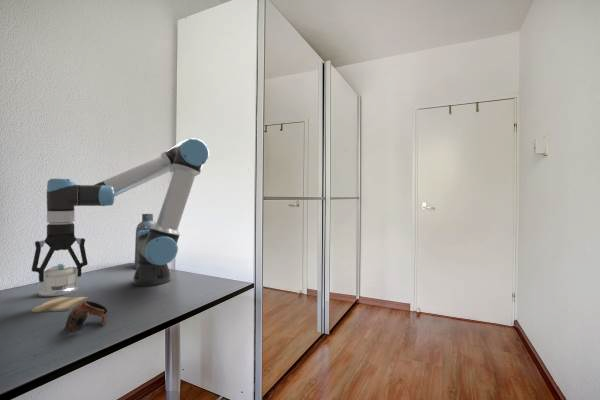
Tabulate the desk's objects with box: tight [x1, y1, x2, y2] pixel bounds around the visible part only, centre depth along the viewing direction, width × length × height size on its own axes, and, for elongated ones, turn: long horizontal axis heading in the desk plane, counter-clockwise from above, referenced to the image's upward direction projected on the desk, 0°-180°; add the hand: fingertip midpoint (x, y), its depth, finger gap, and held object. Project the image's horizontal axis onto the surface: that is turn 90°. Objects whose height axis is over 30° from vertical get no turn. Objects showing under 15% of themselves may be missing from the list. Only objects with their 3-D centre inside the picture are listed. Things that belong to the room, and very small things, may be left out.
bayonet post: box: [38, 264, 78, 298], centre depth 118 cm, size 12×12×10 cm
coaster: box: [31, 296, 88, 313], centre depth 105 cm, size 11×11×1 cm
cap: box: [45, 263, 75, 287], centre depth 105 cm, size 8×8×6 cm
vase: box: [134, 213, 156, 269], centre depth 160 cm, size 12×12×28 cm
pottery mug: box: [64, 300, 109, 334], centre depth 87 cm, size 12×10×8 cm
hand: (60, 288), depth 105 cm, fingers closed on cap, 8 cm apart
